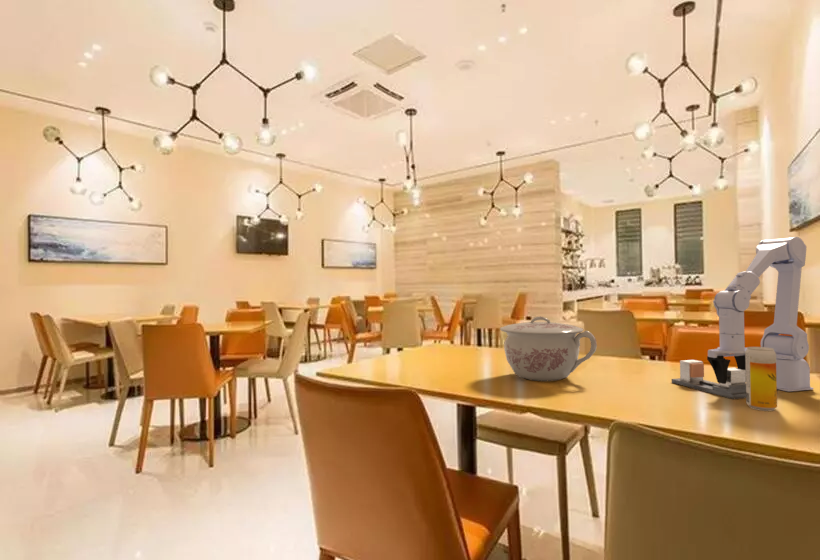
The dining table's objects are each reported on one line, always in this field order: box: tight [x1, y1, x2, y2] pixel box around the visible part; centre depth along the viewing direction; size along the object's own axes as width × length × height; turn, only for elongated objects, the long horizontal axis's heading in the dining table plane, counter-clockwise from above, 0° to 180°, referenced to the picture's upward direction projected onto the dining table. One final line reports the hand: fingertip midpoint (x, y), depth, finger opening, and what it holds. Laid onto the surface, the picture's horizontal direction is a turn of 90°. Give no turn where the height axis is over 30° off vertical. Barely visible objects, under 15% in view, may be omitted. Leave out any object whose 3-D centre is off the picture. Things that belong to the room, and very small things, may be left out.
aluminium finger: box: [718, 367, 746, 389], centre depth 126 cm, size 4×5×6 cm
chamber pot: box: [499, 316, 598, 382], centre depth 153 cm, size 28×28×21 cm
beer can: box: [745, 346, 778, 412], centre depth 113 cm, size 6×6×15 cm
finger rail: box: [671, 359, 746, 400], centre depth 133 cm, size 21×8×7 cm, turn 13°
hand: (732, 382), depth 126 cm, fingers open, 7 cm apart
